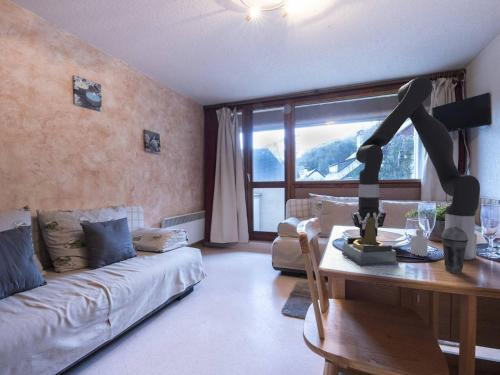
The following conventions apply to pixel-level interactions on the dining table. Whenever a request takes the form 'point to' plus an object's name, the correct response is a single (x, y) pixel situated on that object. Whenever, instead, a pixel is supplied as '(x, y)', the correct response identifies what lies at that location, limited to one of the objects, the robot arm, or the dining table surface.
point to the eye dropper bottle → (419, 243)
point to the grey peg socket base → (369, 253)
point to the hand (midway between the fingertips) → (368, 237)
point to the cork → (369, 232)
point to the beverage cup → (454, 248)
